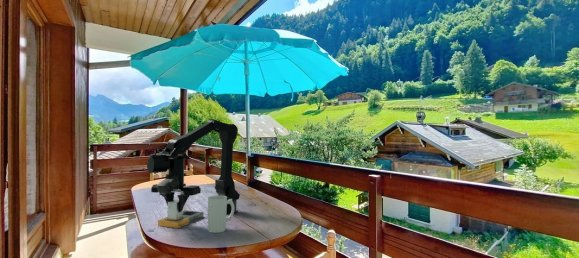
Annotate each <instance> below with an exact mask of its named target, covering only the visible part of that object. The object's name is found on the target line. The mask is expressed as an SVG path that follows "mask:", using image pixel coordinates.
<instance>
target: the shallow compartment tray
mask: <svg viewBox="0 0 579 258" xmlns="http://www.w3.org/2000/svg"><path fill="white" fill-rule="evenodd" d="M204 216H205V215H204V211H195V210H186V209H185V210H183V219H180V220H178V221H170V220H167V217H164V218H161V219H158V220H157V226H158V227H165V228H172V227H173V228H175V229H181V228H182V227H185V226H186V225H189V224H192V223H194V222H195V221H198V220H200V219H202V218H204Z"/></svg>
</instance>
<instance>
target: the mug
mask: <svg viewBox="0 0 579 258" xmlns="http://www.w3.org/2000/svg"><path fill="white" fill-rule="evenodd" d="M207 199H208V200H207V231H208V232H210V233H214V234H215V233H216V234H218V233H223V232H225V231H226V227H227V226H226V225H227V222H231V221H232V219H233V216H234V214H235V213H234V204H233V201H232V199H229V200H227V197H226V196H218V195H211V196H208V198H207ZM227 204H230V205H231V207H232V210H231V214H229V216H227V214H226V210H227Z"/></svg>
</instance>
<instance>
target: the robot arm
mask: <svg viewBox="0 0 579 258" xmlns="http://www.w3.org/2000/svg"><path fill="white" fill-rule="evenodd" d="M212 132H216V133H218V138H219V139H220V142H221V157H220V161H221V162H220V176H219V178H218V179H214V180H215V182H214V183H215V185H214V189H215V192H216V194H217V196H226V197H227V200H229V199H232V201H233V204H234V214H235V213H238V212H239V210H238V209H237V203H238V202H237V201H238V200H239V199H240V196H241V195H240V193H239V192H238V191H237V190H236V186H235V181H234V178H233V176H232V174H233V154H234V143H235V142H236V140H237V136H238V132H239V129H238V127H237V125H236V124H234V123H225V122H222V121H220V120H216V119H209V120H207V121H205V122H204V123H203V124H201V125H200V126H198V127H196V128H195V129H192V130H191V131H189V132H187V133H186V134H183V135H179V136H175V137H174V138H171V139H169V140H168V141H167V144H166V147H165V148H164V150H163V151H162V152H161V153H160V154H155V153H154V154H153V153H152V154H151V153H150V155H149V158H148V161H147V163H146V167H147V171H148V173H149V174H156V173H159V174H160V173H165V179H162V180H161V181H160V182H159V183H155V184H153V185H152V186H151V189H150V192H151V193H154V194H155V193H156V194H159V196H161V197H162V198H164V200H165V202H166V206H167V207H168V202H169V201H172V200H175V194H176V192H177V193H180V194H177V195H176V196H177V198H178V200H179V212H181V211H182V209H183V210H184V207H185V205H186V203H187V201H188V200H189V198H190V197H191V196H195V195H199V194H201V191H202V190H201V187H200V186H199V185H188V186H187V184H186V183H185V177H187V173H186V172H185V160H190V157H189V155H187V154H186V152H188V151H189V149H191V147H192V145H193V144H194V143H195V142H197V141H198V140H200V139H202V138H203V137H206V136H207V135H208V134H210V133H212ZM167 171H168V173H167V174H166V172H167ZM231 210H232V207H231V205H230V204H227V210H226V215H230V214H231Z"/></svg>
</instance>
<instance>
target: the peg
mask: <svg viewBox="0 0 579 258" xmlns="http://www.w3.org/2000/svg"><path fill="white" fill-rule="evenodd" d="M183 211H184V208H183V209H182V211H181V212H179V199H174V200H172V201H169V202H168V206H167V220H170V221H178V220H180V219H183Z"/></svg>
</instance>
